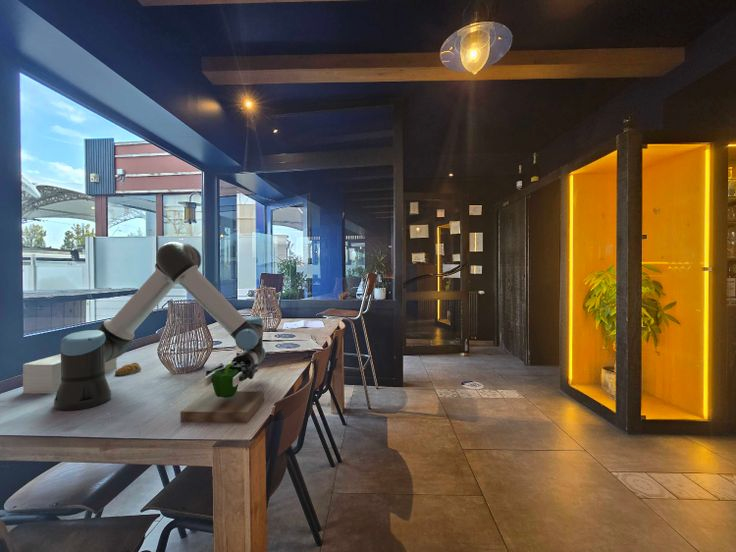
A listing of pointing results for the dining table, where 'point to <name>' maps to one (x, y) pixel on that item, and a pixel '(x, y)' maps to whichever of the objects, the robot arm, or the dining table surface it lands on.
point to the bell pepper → (224, 382)
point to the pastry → (128, 369)
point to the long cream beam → (48, 374)
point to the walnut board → (223, 407)
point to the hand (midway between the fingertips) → (219, 382)
